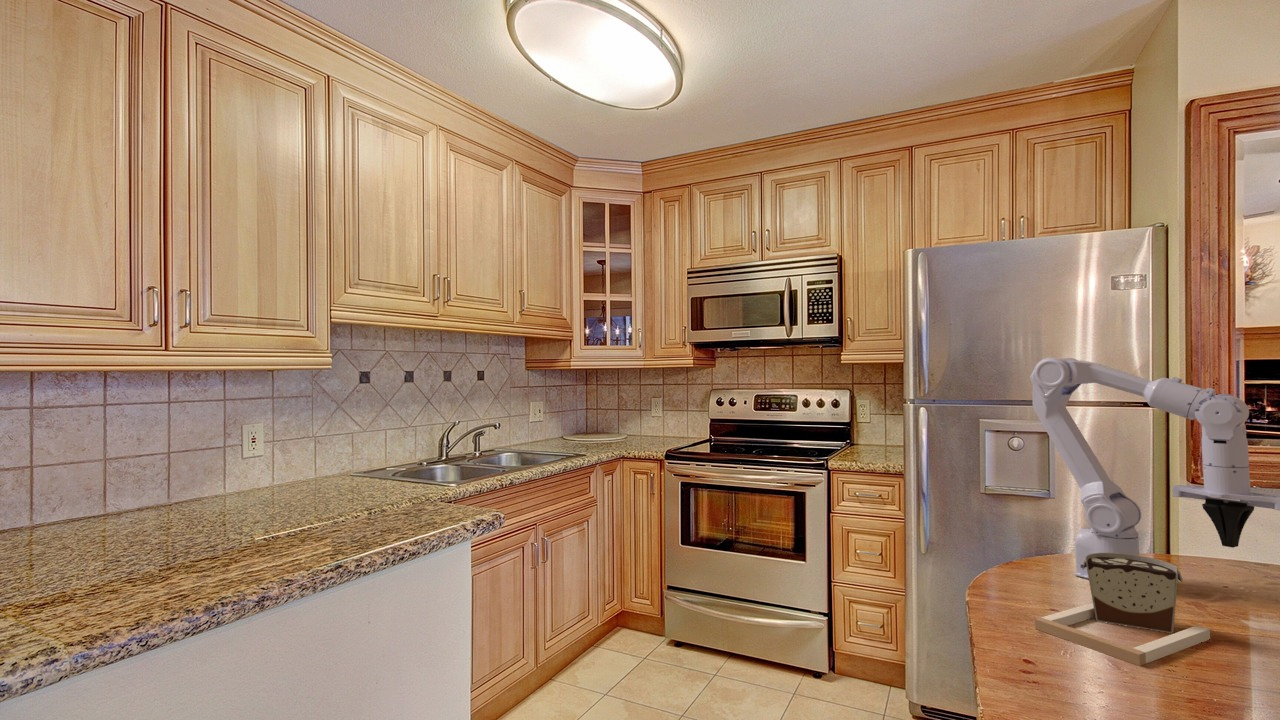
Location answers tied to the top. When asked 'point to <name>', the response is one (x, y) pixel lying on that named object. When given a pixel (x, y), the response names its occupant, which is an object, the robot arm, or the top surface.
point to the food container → (1133, 590)
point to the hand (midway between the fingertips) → (1230, 546)
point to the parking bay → (1137, 655)
